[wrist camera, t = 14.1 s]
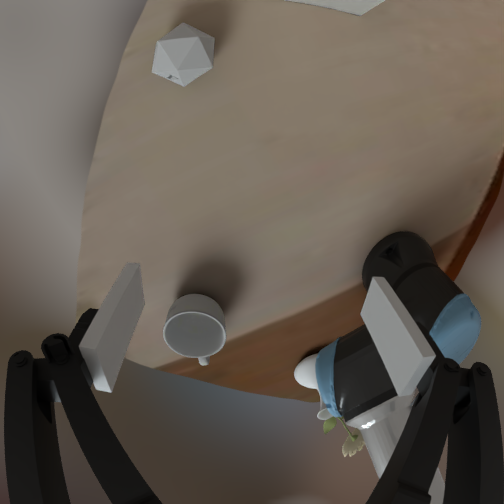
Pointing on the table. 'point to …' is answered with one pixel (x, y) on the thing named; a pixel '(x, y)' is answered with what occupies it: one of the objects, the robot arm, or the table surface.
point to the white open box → (344, 5)
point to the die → (183, 54)
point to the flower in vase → (308, 379)
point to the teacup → (195, 327)
